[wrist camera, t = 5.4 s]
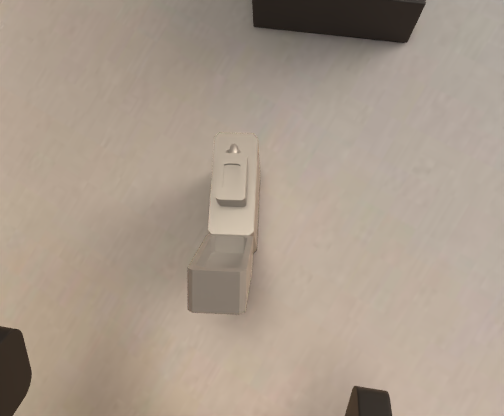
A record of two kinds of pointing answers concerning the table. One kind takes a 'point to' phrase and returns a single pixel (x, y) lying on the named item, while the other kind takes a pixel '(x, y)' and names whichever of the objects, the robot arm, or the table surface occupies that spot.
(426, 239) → the table surface
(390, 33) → the dark grey holder tray
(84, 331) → the table surface
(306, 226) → the table surface
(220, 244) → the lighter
